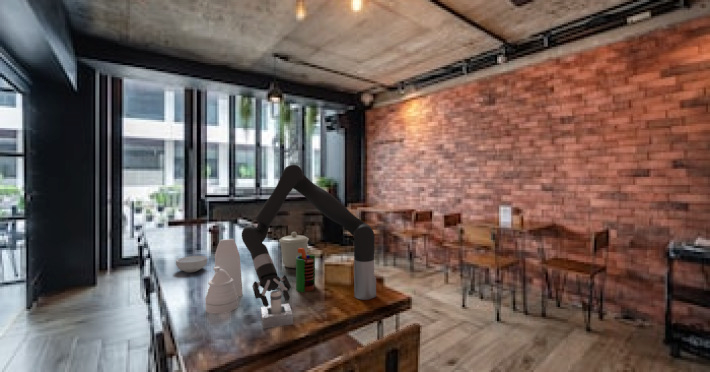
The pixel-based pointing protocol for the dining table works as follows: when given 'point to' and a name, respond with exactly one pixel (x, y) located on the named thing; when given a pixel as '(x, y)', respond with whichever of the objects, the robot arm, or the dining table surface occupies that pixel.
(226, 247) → the tall white vase
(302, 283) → the motor
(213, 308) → the honey pot
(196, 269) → the cereal bowl
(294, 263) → the canister
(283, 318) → the box
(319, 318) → the dining table surface
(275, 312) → the plug
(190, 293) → the dining table surface
